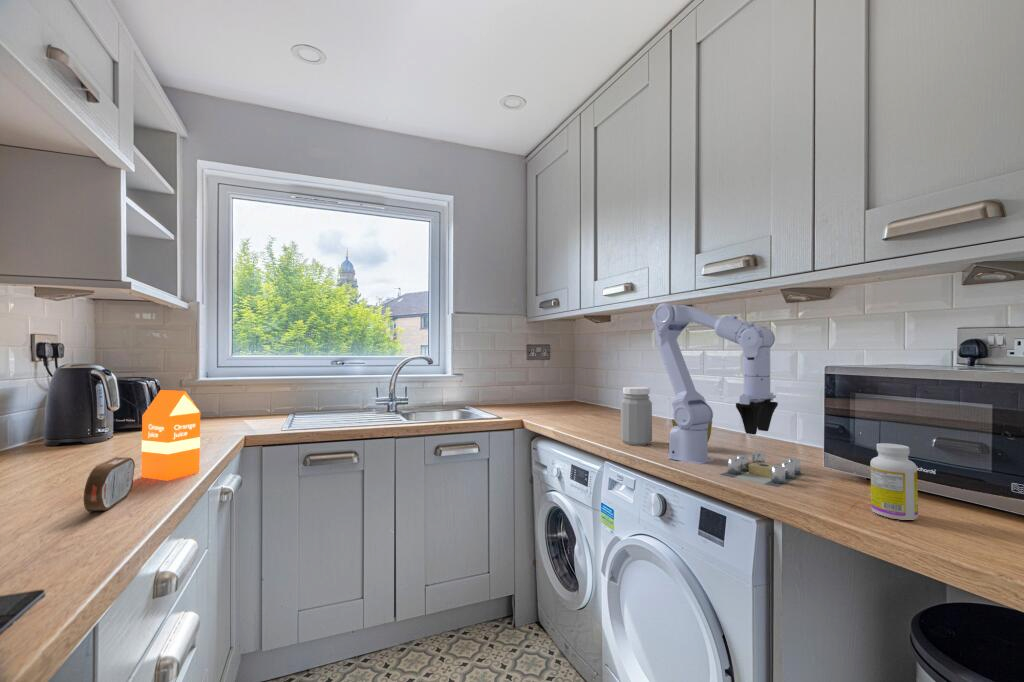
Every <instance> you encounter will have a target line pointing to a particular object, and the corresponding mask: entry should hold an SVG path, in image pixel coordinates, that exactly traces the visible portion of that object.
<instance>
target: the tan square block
mask: <svg viewBox="0 0 1024 682" xmlns="http://www.w3.org/2000/svg"><path fill="white" fill-rule="evenodd" d="M748 464H749V474H751V475H756V476H761V477H766V478H771V466H772V465H774V464H773V463H767V462H765V463H762V462H755V463H753V462H752V463H748Z"/></svg>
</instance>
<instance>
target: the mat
mask: <svg viewBox="0 0 1024 682" xmlns="http://www.w3.org/2000/svg"><path fill="white" fill-rule="evenodd" d="M805 475H806V473H803V472H801V474H800V475H795V479H785V484H787V483H790V482H792V481H794V480H796V479H798V478H800V477H802V476H805ZM719 476H723V477H729V478H733V479H738V480H741V481H742V480H743V481H747V482H751V483H757V484H761V485H764V486H771V487H775V488H780V487H781V486H784V485H785V484H776V483H772V482H771V478H766V477H761V476H756V475H751V474H749V469H748V471H747V472H742V471H741V474H740V475H733V474H729V473H728V471H726V472H721V473H719Z"/></svg>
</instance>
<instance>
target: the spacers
mask: <svg viewBox="0 0 1024 682" xmlns="http://www.w3.org/2000/svg"><path fill="white" fill-rule="evenodd" d="M751 458H752V463H755V462H762V463H766V453H764V452H761V451H760V452H759V451H758V452H757V451H752V457H751ZM749 464H750V463H749V456H748V455H744V454H736V455H735V457H734V456H733V457H732V456H731V457H727V472H728V473H729V474H733V475H740V474H741V471H742V472H747V471H748V469H749ZM801 473H802V471H801V459H800V458H797V457H786V460H785V461H783V460H782V461H780V465H779V464H778V465H777V464H773V465H772V466H771V482H772V483H776V484H784V485H785V479H794V480H796V479H795V475H800V474H801Z"/></svg>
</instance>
